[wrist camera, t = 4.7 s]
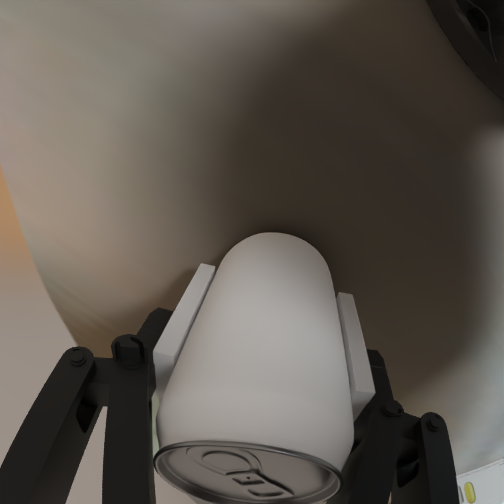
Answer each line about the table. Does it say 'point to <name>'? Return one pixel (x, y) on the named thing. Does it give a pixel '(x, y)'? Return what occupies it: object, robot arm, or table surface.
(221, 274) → the can
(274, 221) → the table surface
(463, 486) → the supplement box
